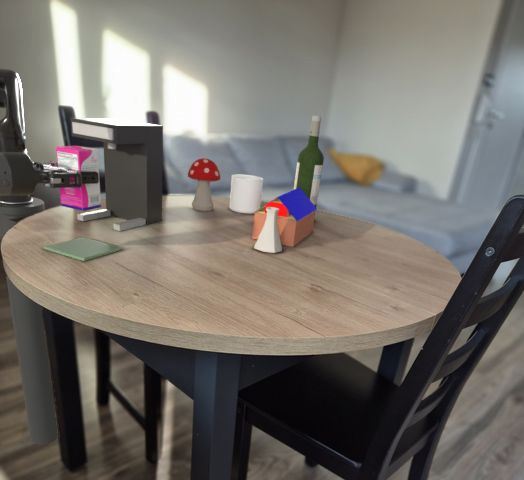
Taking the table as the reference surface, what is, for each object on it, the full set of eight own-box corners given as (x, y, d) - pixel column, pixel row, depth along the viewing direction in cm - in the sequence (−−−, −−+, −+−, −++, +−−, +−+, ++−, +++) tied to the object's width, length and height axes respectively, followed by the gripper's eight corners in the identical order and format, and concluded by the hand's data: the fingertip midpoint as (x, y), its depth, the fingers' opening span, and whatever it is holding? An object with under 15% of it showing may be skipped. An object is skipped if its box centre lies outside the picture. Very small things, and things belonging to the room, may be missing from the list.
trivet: (44, 249, 101) (44, 246, 101) (83, 239, 110) (83, 236, 110) (83, 261, 97) (83, 258, 97) (121, 250, 106) (120, 247, 106)
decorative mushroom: (186, 210, 147) (188, 158, 140) (186, 204, 154) (188, 154, 147) (219, 213, 149) (222, 162, 142) (217, 207, 156) (220, 158, 149)
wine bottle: (292, 215, 158) (306, 114, 144) (316, 219, 156) (332, 117, 142) (287, 219, 151) (301, 114, 137) (311, 223, 150) (328, 117, 136)
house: (313, 231, 141) (319, 190, 135) (293, 247, 124) (300, 201, 118) (274, 224, 144) (279, 183, 138) (250, 238, 127) (255, 192, 121)
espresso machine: (76, 220, 124) (68, 117, 113) (122, 210, 138) (119, 118, 127) (118, 231, 119) (114, 125, 108) (162, 220, 133) (163, 125, 122)
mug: (255, 215, 152) (259, 181, 147) (225, 210, 153) (227, 176, 148) (264, 208, 163) (268, 176, 158) (236, 203, 164) (238, 172, 159)
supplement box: (79, 202, 103) (76, 144, 98) (101, 207, 101) (99, 149, 96) (59, 205, 98) (54, 145, 93) (82, 211, 96) (79, 150, 91)
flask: (259, 243, 124) (264, 203, 119) (286, 248, 122) (291, 208, 117) (249, 249, 118) (253, 208, 113) (276, 255, 116) (281, 213, 111)
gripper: (14, 158, 81) (104, 160, 92) (-14, 146, 90) (72, 148, 101) (19, 204, 85) (106, 200, 95) (-9, 187, 93) (74, 185, 104)
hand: (88, 173), depth 98 cm, fingers closed on supplement box, 7 cm apart
